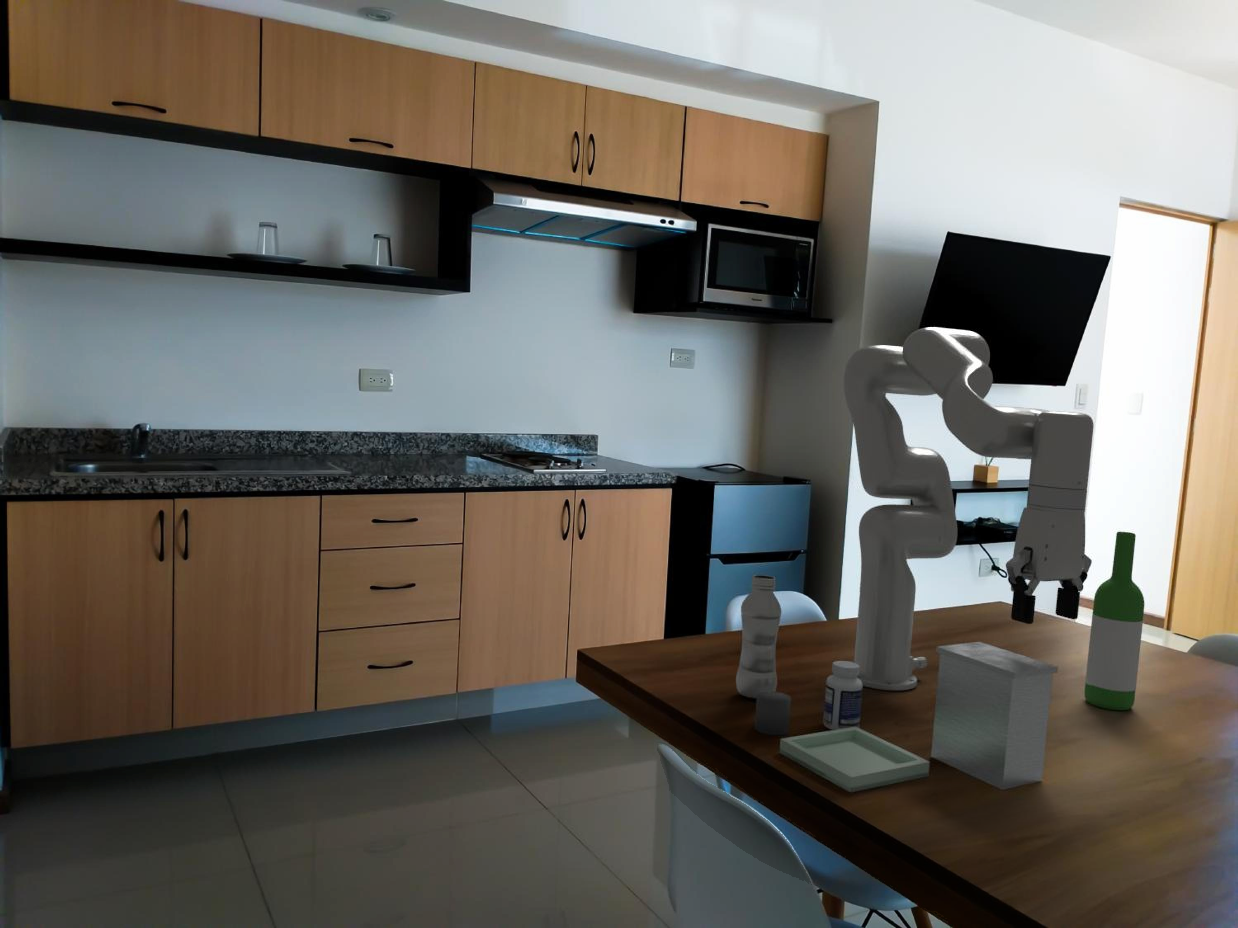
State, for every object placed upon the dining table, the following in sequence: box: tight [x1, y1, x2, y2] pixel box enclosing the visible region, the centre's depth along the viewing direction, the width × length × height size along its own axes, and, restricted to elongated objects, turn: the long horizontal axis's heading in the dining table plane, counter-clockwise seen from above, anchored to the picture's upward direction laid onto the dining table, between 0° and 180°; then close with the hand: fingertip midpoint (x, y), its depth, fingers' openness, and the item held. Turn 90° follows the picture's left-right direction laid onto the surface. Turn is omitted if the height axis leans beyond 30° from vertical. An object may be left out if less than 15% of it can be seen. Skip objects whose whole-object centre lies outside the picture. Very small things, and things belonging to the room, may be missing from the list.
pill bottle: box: [822, 660, 864, 731], centre depth 145 cm, size 5×5×10 cm
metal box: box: [930, 641, 1059, 791], centre depth 132 cm, size 9×13×16 cm
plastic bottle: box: [735, 574, 782, 700], centre depth 157 cm, size 6×7×20 cm
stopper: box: [754, 691, 792, 736], centre depth 143 cm, size 5×5×5 cm
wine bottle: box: [1084, 531, 1145, 711], centre depth 165 cm, size 8×8×30 cm
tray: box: [779, 727, 931, 793], centre depth 131 cm, size 14×14×2 cm
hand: (1044, 619), depth 136 cm, fingers open, 9 cm apart
